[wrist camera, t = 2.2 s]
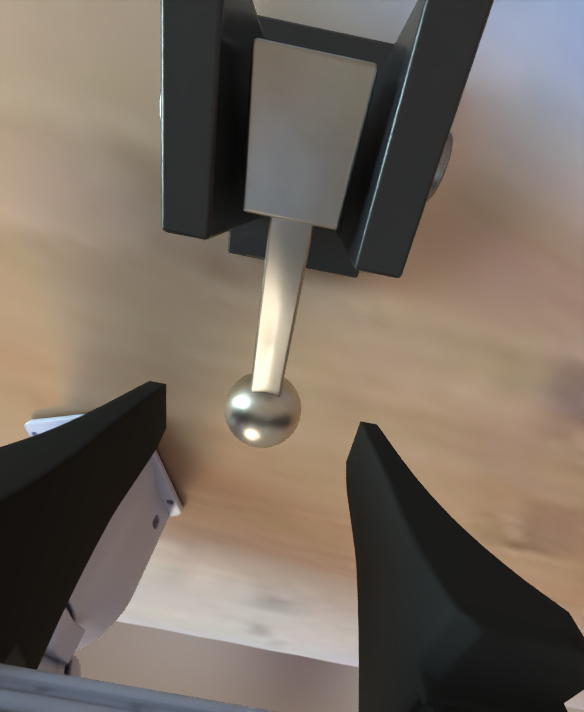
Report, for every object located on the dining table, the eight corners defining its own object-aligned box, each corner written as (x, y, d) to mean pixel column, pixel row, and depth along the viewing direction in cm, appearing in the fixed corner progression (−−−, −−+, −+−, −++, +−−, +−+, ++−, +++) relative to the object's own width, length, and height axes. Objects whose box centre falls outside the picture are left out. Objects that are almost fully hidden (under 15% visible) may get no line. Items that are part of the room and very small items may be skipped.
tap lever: (297, 411, 15) (290, 469, 13) (233, 399, 15) (214, 455, 13) (384, 77, 8) (406, 67, 5) (257, 49, 7) (222, 27, 5)
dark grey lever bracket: (354, 272, 16) (396, 360, 7) (233, 248, 16) (138, 310, 7) (411, 61, 12) (616, -226, 4) (253, 28, 12) (112, -343, 4)
